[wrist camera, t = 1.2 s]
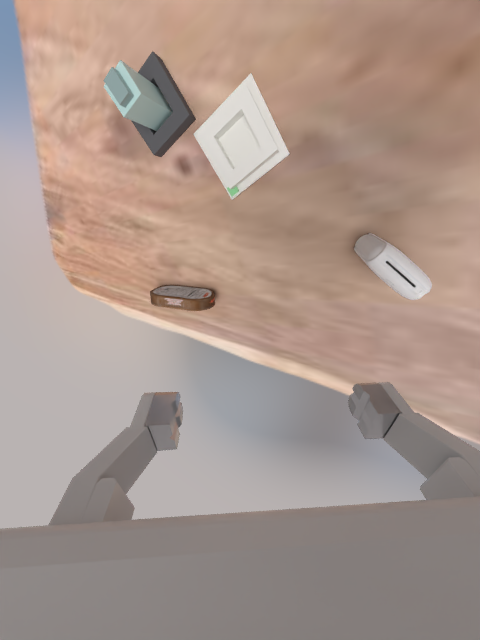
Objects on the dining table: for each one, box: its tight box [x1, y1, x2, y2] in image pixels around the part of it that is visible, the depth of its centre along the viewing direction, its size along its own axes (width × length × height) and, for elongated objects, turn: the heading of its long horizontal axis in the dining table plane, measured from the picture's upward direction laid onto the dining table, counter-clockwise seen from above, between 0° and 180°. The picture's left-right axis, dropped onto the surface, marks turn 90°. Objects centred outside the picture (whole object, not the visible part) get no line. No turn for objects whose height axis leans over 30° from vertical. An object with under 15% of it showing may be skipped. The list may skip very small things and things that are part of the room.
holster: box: [131, 51, 196, 157], centre depth 38 cm, size 9×9×2 cm
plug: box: [104, 60, 173, 131], centre depth 34 cm, size 4×4×11 cm
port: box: [194, 74, 290, 200], centre depth 37 cm, size 12×12×3 cm
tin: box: [150, 285, 215, 311], centre depth 51 cm, size 15×3×8 cm, turn 89°
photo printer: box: [354, 233, 432, 300], centre depth 36 cm, size 10×4×12 cm, turn 54°
